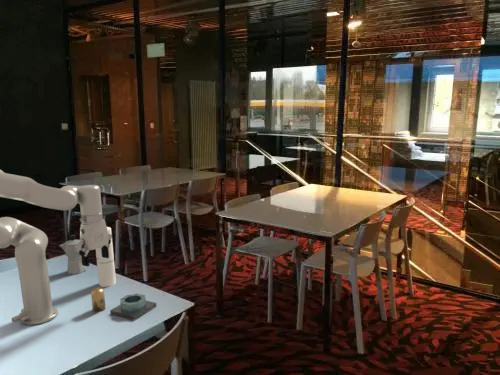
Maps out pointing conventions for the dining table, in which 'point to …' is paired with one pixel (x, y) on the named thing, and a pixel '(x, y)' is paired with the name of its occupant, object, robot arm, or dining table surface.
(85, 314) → the dining table surface
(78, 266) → the coffee maker
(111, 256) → the cylindrical container
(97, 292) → the gold round-topped cylinder
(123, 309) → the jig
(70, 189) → the robot arm
